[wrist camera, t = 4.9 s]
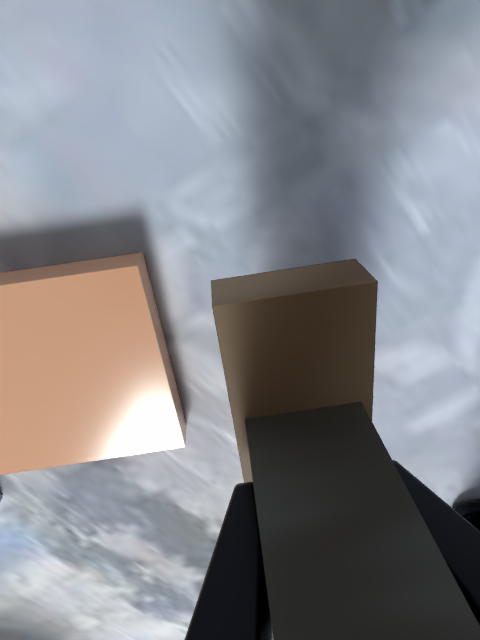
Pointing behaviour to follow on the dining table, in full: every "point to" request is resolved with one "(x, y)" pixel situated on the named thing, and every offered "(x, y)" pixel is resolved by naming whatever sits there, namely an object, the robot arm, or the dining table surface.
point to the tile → (83, 366)
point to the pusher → (327, 463)
